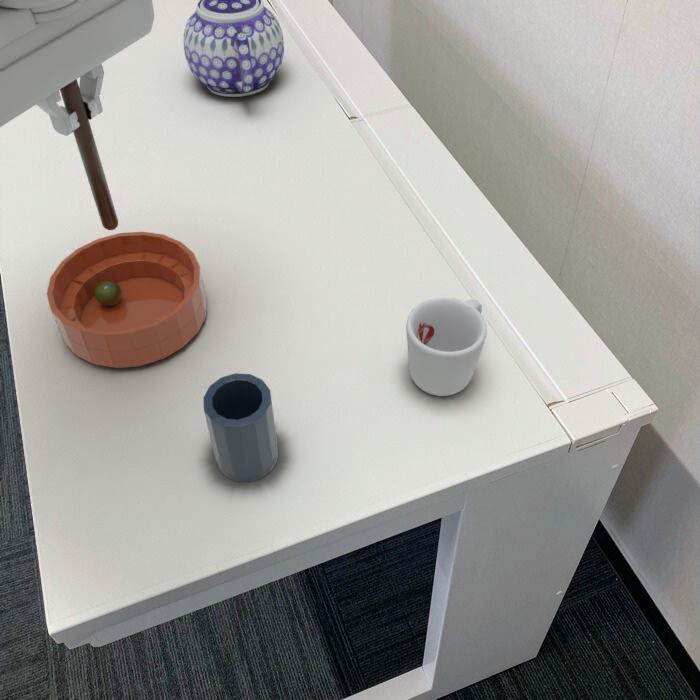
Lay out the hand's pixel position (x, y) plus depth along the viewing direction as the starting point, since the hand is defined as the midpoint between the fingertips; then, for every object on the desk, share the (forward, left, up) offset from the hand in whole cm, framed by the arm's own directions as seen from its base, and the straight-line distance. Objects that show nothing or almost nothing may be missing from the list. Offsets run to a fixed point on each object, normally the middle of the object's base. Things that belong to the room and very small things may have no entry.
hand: (79, 122), depth 69 cm
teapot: (+49, +22, -26) cm, 60 cm away
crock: (-9, -21, -26) cm, 34 cm away
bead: (0, +4, -23) cm, 24 cm away
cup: (+11, -33, -26) cm, 44 cm away
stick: (0, 0, -12) cm, 12 cm away
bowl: (0, +1, -26) cm, 26 cm away
